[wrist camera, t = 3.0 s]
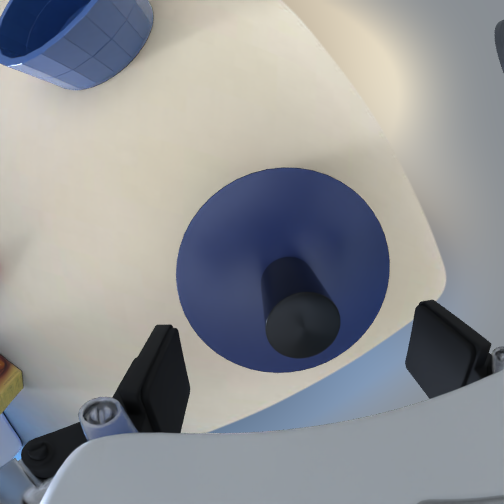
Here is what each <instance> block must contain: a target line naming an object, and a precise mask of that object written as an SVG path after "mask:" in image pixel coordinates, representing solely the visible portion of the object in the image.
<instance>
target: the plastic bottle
mask: <svg viewBox="0 0 504 504" xmlns="http://www.w3.org/2000/svg"><path fill="white" fill-rule="evenodd" d="M21 446H22V444H21V441H20V439H19V437H18V435H17V434H16V433H15V431H14V430H13V428H12V427H11V425H10V424H9V422H8V420H7V419H6V417H5V416H4V414H3V412H2V413H1V415H0V467H1V466H3V465H5V464H6V463H8V462H9V461H11V460H12V459H13V458H14V456H15V455H16V454H17V453H18V452H19V450H20V449H21Z"/></svg>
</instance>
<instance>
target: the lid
mask: <svg viewBox="0 0 504 504" xmlns="http://www.w3.org/2000/svg"><path fill="white" fill-rule="evenodd" d="M389 269H390V260H389V252H388V246H387V242H386V238H385V235H384V232H383V230H382V227H381V225H380V223H379V221H378V219H377V218H376V216H375V214H374V213H373V211H372V210H371V208H370V207H369V206H368V205H367V203H366V202H365V201H364V200H363V199H362V198H361V197H360V196H359V195H358V194H357V193H356V192H355V191H354V190H352V189H351V188H349V187H348V186H346V185H345V184H344V183H342V182H340V181H338V180H336V179H334V178H332V177H330V176H328V175H325V174H322V173H319V172H316V171H313V170H307V169H301V168H274V169H266V170H262V171H258V172H255V173H251V174H249V175H246V176H244V177H241V178H239V179H237V180H235V181H233V182H231V183H230V184H228V185H226V186H225V187H223V188H222V189H221V190H219V191H218V192H217V193H215V194H214V195H213V196H212V197H211V198H210V199H209V200H208V201H207V202H206V203H205V204H204V205H203V206H202V207H201V208H200V209H199V211H198V212H197V214H196V215H195V216H194V218H193V219H192V221H191V222H190V224H189V226H188V228H187V230H186V232H185V234H184V237H183V240H182V242H181V245H180V248H179V253H178V258H177V268H176V281H177V290H178V295H179V299H180V303H181V306H182V308H183V311H184V314H185V316H186V317H187V319H188V321H189V323H190V325H191V326H192V328H193V329H194V331H195V332H196V333H197V335H198V336H199V337H200V338H201V339H202V340H203V341H204V342H205V343H206V344H207V346H209V347H210V348H211V349H212V350H214V351H215V352H216V353H217V354H219V355H221V356H222V357H224V358H225V359H227V360H229V361H231V362H233V363H235V364H238V365H240V366H243V367H246V368H249V369H253V370H258V371H263V372H273V373H284V372H295V371H301V370H305V369H309V368H313V367H316V366H318V365H321V364H323V363H326V362H328V361H330V360H332V359H333V358H335V357H337V356H339V355H340V354H342V353H343V352H345V351H346V350H347V349H349V348H350V347H351V346H352V345H353V344H355V343H356V342H357V341H358V340H359V339H360V338H361V337H362V335H363V334H364V333H365V332H366V331H367V329H368V328H369V327H370V325H371V324H372V323H373V321H374V319H375V318H376V316H377V314H378V312H379V310H380V308H381V306H382V303H383V301H384V298H385V294H386V291H387V287H388V281H389Z"/></svg>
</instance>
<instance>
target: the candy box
mask: <svg viewBox="0 0 504 504" xmlns="http://www.w3.org/2000/svg"><path fill="white" fill-rule="evenodd" d="M22 389H23V379H22V371H21V370H19V369H18V368H17V367H16V366H14V365H13V364H12V363H10V362H9V361H8V360H6V359H5V358H4V357H3V356H1V355H0V415H1V413H2V412H3V411H4V410H5V409H6V408H7V406H8V405H9V404H10V403H11V401H12V400H13V399H14V398H15V397H16V396H17V394H18V393H19V392H20V391H21V390H22Z"/></svg>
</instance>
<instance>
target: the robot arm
mask: <svg viewBox="0 0 504 504" xmlns="http://www.w3.org/2000/svg"><path fill="white" fill-rule="evenodd" d="M490 347H491V343H490V342H489V341H487V340H486V339H485V338H484V337H482V336H481V335H480V334H478V333H477V332H476V331H475V330H473V329H472V328H471V327H469V326H468V325H467V324H465V323H464V322H463V321H461V320H460V319H459V318H457V317H456V316H455V315H453V314H452V313H451V312H449V311H448V310H446V309H445V308H444V307H442V306H441V305H440V304H438V303H437V302H436V301H434V300H428V301H422V302H420V303H419V305H418V306H417V307H416V309H415V314H414V321H413V327H412V332H411V337H410V342H409V347H408V352H407V356H406V361H405V364H406V368H407V370H408V371H409V372H410V373H411V375H412V376H413V377H414V379H415V380H416V381H417V382H418V384H419V385H420V387H421V388H422V389H423V391H424V392H425V393H426V395H427V396H428V397H429V399H428V400H425V401H422V402H419V403H416V404H413V405H409V406H406V407H403V408H399V409H396V410H392V411H388V412H384V413H380V414H376V415H372V416H367V417H363V418H358V419H353V420H348V421H343V422H338V423H332V424H326V425H319V426H312V427H305V428H297V429H288V430H278V431H267V432H251V433H223V434H221V433H217V434H215V433H180V432H181V428H182V424H183V420H184V415H185V411H186V407H187V403H188V399H189V394H190V384H189V380H188V375H187V371H186V366H185V362H184V357H183V352H182V348H181V343H180V338H179V332H178V329H177V328H173V326H172V325H156V326H155V328H154V330H153V331H152V333H151V335H150V337H149V338H148V340H147V342H146V343H145V345H144V347H143V349H142V350H141V352H140V354H139V356H138V357H137V358H135V359H134V360H133V362H132V364H131V366H130V367H129V369H128V371H127V373H126V374H125V376H124V378H123V380H122V381H121V383H120V385H119V387H118V389H117V390H116V392H115V394H114V396H113V398H110V397H98V398H94V399H92V400H89V401H87V402H86V403H85V404H84V405H83V406H82V407H81V408H80V410H79V413H78V416H79V421H80V422H78V423H76V424H73V425H71V426H68V427H65V428H63V429H60V430H57V431H55V432H52V433H49V434H46V435H43V436H40V437H38V438H35V439H33V440H31V441H29V442H28V443H27V444H26V445H25V446H24V448H23V449H22V453H21V458H22V459H21V460H19V461H17V460H16V458H14V459H13V460H11V461H9V462H8V463H6V464H5V465H3V466H1V467H0V504H504V347H498V348H496V349H494V350H493V352H492V355H491V354H490V353H489V350H490Z"/></svg>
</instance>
